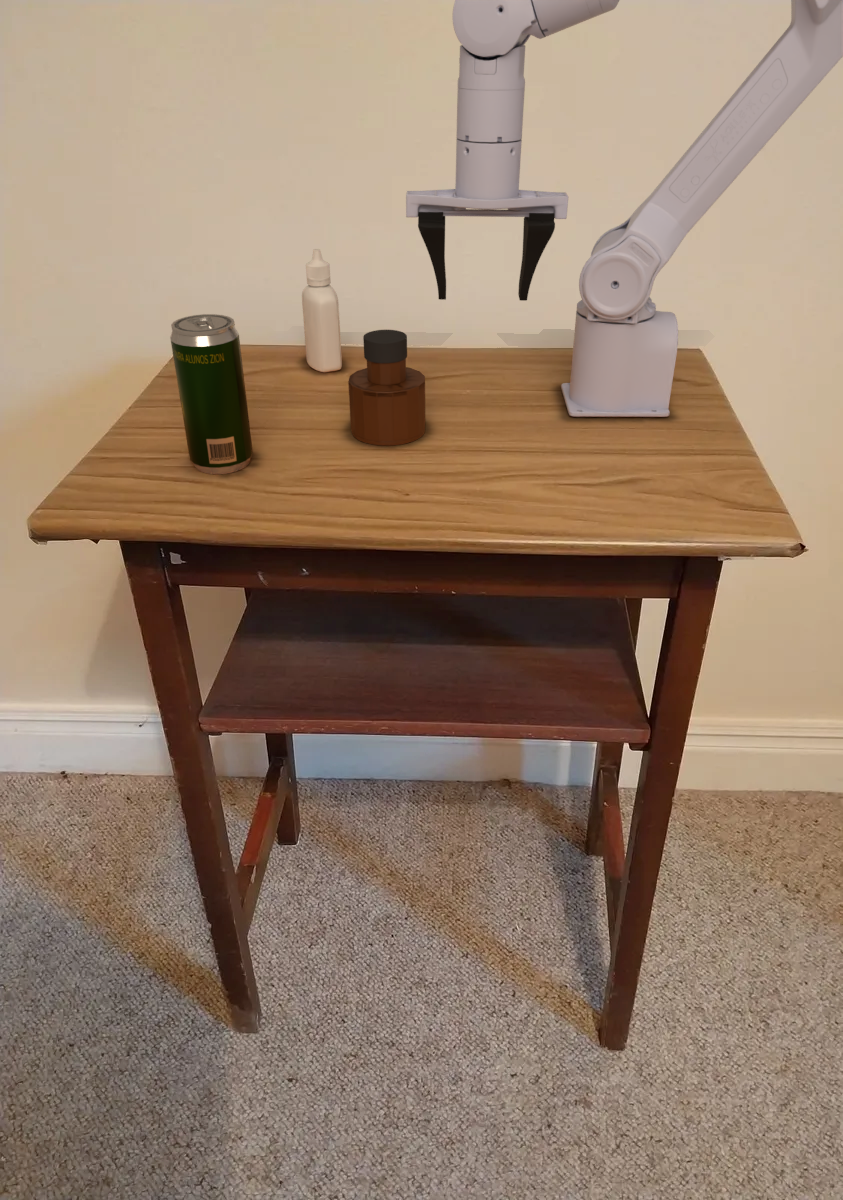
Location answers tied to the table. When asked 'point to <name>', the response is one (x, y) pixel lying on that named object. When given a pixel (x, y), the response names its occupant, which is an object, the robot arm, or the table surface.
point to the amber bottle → (387, 404)
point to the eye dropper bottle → (321, 317)
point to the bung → (385, 346)
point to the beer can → (212, 392)
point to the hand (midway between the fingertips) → (482, 297)
